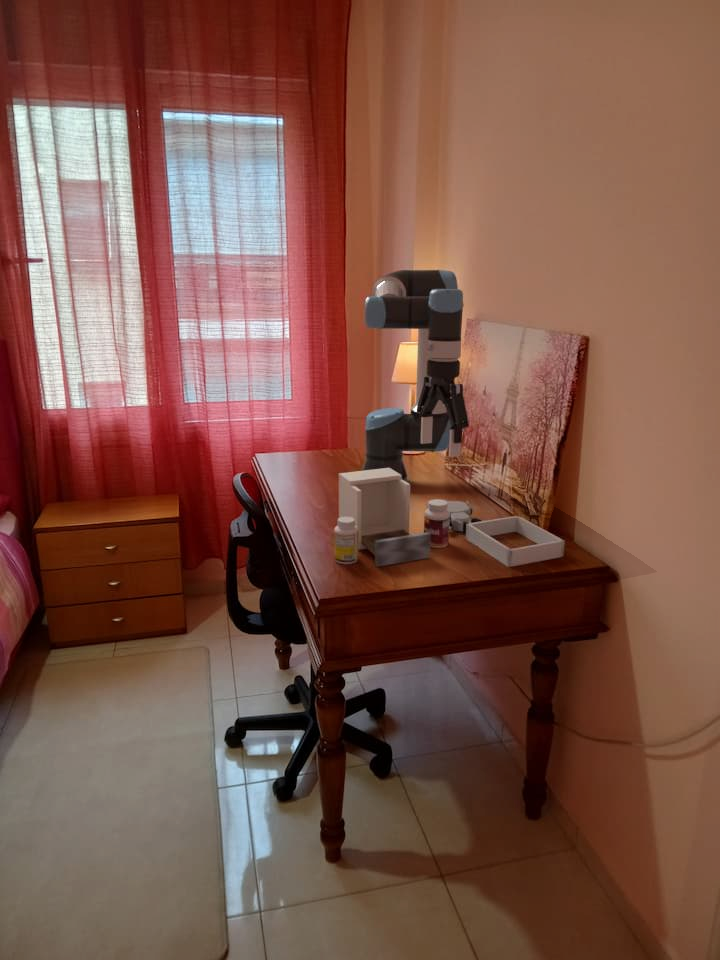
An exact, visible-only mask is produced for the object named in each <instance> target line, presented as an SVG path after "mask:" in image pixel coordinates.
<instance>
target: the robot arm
mask: <svg viewBox="0 0 720 960" xmlns="http://www.w3.org/2000/svg"><path fill="white" fill-rule="evenodd" d="M464 305H465V303H464V293H463V291H462V290H461V289H459V286H458V280H457V276H456V274H455V272H454V271H451V270H443V269H427V270H426V269H425V270H424V269H420V270H417V269H409V270H408V269H401V270H396V271H393V272H392V271H391V272H390V273H387V274H385V275H383V276H381V277H380V278H379V279H377V281H375V282H374V285H373V287H372V290H371V296H367V297H366V298H365V303H364V324H365V327H366V328H369V329H377V330H382V329H384V330H385V329H387V330H388V329H401V330H402V329H403V330H404V329H405V330H406V329H407V330H408V329H409V330H410V329H411V330H412V329H413V330H417V329H418V331H417V332H418V333H417V334H418V335H417V357H416V358H417V361H416V363H417V364H416V366H417V367H416V387H415V388H416V391H415V393H416V394H415V395H416V396H415V403H414V404H413V405H412V406H411V408H410V413H405V411H404V409H403V408H399V407H398V408H397V407H389V408H387V407H386V408H380V409H376V410H373V411H371V412H369V414H367V415H366V420H365V428H364V430H365V459H364V463H363V465H362V469H361V471H365V470H373V469H382V468H391V469H392V470H394V471H396V472H397V473H399V474H401V475H402V480H404V481H406V482H407V483H408V473H407V470H406V469H407V468H406V467H405V464H404V461H403V459H404V458H403V454H404V453H403V452H430V453H436V452H444V451H446V450H447V449H448V457H449V458H454V457H455V458H456V457H461V455H462V454H461V453H462V441H463V429H466V428H469V426H470V424H469V419H468V413H467V409H466V403H465V397H464V387H463V384H462V383H455V379H456V378H458V377H459V376H460V375H461V374H460V373H461V361H460V360H459V359H460V358H461V354H462V353H461V352H462V351H461V350H462V327H463V326H462V325H463V311H464V310H463V309H464Z"/></svg>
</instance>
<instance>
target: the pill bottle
mask: <svg viewBox="0 0 720 960" xmlns="http://www.w3.org/2000/svg"><path fill="white" fill-rule="evenodd" d="M446 501H447V500H444V499H441V498H440V499H438V498H437V499H436V498H434V499H431V500H428V502H427V506H428V508H429V509H426V510H425V512H424V521H423V522H424V524H423V533H426V532H429V533H430V534H431V542H430V549H431V548H433V549H443V548H446V547H447V546H448V545H449V537H450V530H449V522H450V513H449V511H448V510H446V509H447V502H446Z"/></svg>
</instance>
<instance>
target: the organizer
mask: <svg viewBox="0 0 720 960" xmlns="http://www.w3.org/2000/svg"><path fill="white" fill-rule="evenodd" d="M514 532H516V533H518V534H520V535H521V536H523V537H524V538H527V539H528V540H530V541H532V542H534V543H535V544H532V545H526V546H522V547H515V548H509V547H508V546H506V545H505V544H504V543H501V542H500V541H498V540H496V539H495V538H493V537H492V536H498V535H502V534H509V533H514ZM465 540H467V541H468V542H470V543H471V544H473V545H474V546H476V547H477V546H478V547H477V548H479V549H480V550H482V551H484V552H485V553H487V554H488V555H490V556H491V557H492V558H494V559H495V560H497V561H499V562H500V563H502V564H503V565H504V566H506V567H508V568H511V567H515V566H517V567H518V566H521V565H526V564H533V563H537V562H542V561H547V560H553V559H557V558H558V559H560V558H562V557H564V555H565V553H564V552H565V544H566V540H564V539H562V538H560V537H558V536H556V535H555V534H553V533H551V532H549V531H547V530H545V529H544V528H542V527H540V526H538V525H536V524H534V523H532V522H530V521H529V520H527V519H525V518H523V517H521V516H519V515H514V516H507V517H506V516H505V517H500V518H495V519H488V520H482V521H481V522H475V523H468V524H466V531H465Z"/></svg>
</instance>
